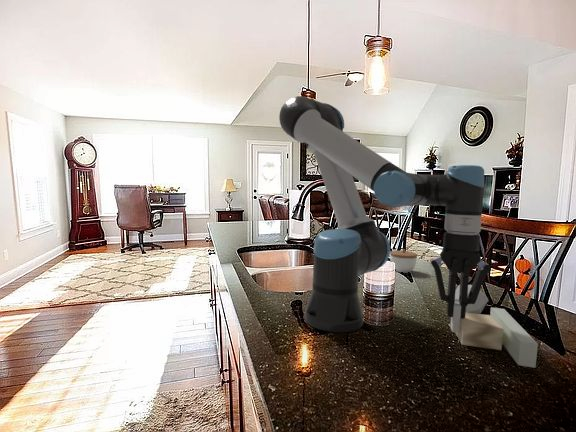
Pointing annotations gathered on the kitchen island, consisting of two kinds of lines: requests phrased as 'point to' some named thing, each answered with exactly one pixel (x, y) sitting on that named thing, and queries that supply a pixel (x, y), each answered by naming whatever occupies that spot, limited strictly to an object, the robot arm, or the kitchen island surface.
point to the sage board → (516, 339)
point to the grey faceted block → (478, 304)
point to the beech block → (480, 331)
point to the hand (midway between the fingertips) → (454, 330)
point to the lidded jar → (403, 260)
